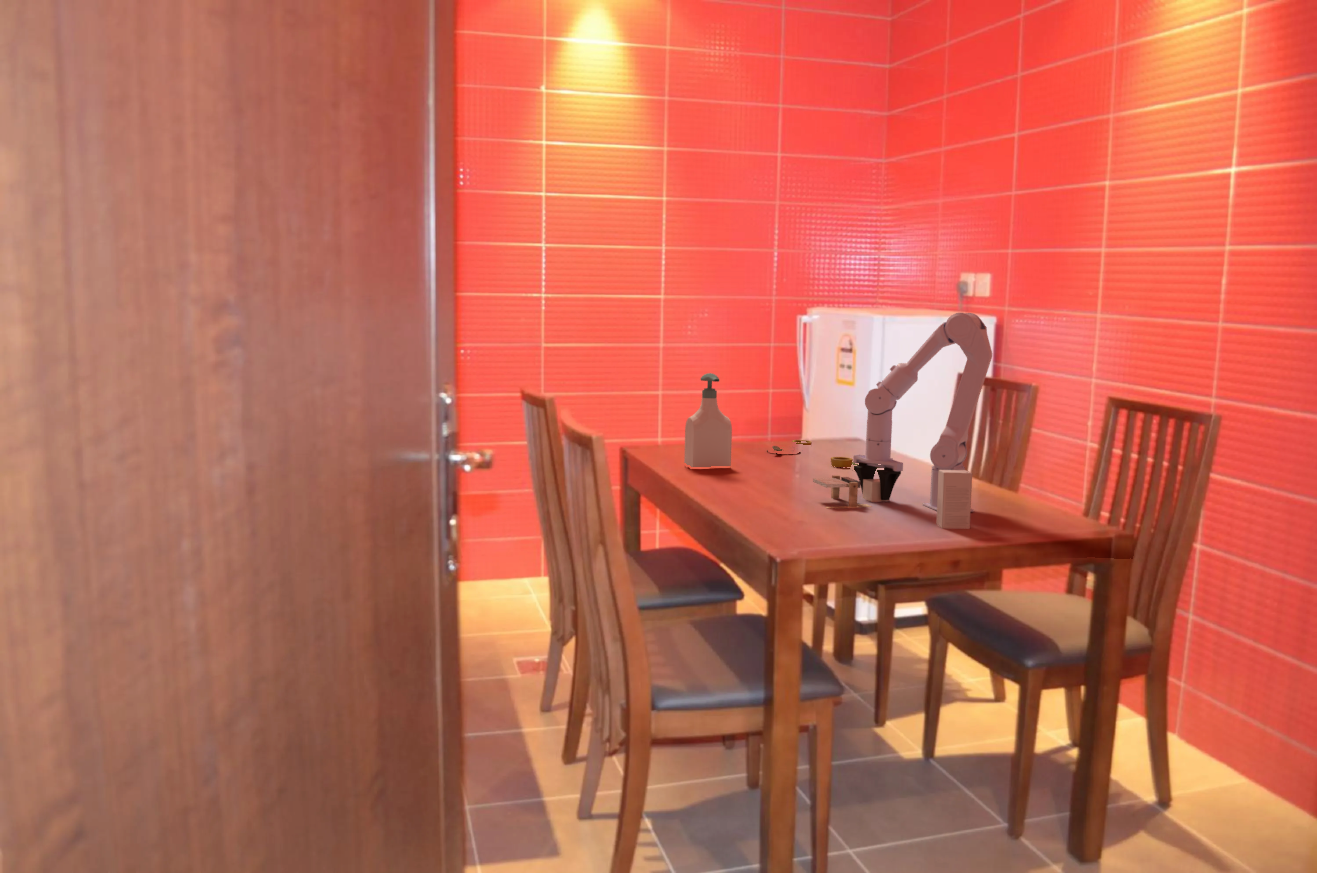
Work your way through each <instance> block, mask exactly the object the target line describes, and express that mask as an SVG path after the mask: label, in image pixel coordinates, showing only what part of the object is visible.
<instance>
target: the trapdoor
mask: <svg viewBox="0 0 1317 873" xmlns="http://www.w3.org/2000/svg"><path fill="white" fill-rule="evenodd" d="M841 480H842V481H841ZM844 481H845V482H844ZM846 482H847V483H846ZM850 482H857V483H858V489H860V488H861V485H860V481H859V480H857V479H854V478H852V477H849V476H840V480H839V479H836V478H832V477H830V478H829V477H827V478H826V477H825V478H824V477H823V478H812V483H813V484H816V485H820V486H822V487H824V488H827V489H828V488H830V489H832V488H836V487H840V488H849V483H850Z"/></svg>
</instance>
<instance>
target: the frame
mask: <svg viewBox="0 0 1317 873" xmlns="http://www.w3.org/2000/svg"><path fill="white" fill-rule="evenodd" d="M831 478H836V479H839V480H841V475H838V474H837V475H836V474H834V475H831ZM841 481H842V480H841ZM844 482H845V481H844ZM846 483H847V482H846ZM830 489H831V490H830V492H831V494H830V498H831V499H832V498H833V500H837V498H839V499H840V489H841V487H836V488H830ZM858 491H859V488H858V483H857V482H850V483H849V487H848V505H847V506H844V505H843V506H825V507H824V508H825V509H826V510H830V509H833V508H835V509H856V508H857V509H858V508H872V507H873V506H871V505H870V504H867V503H865V504H864V503H858Z"/></svg>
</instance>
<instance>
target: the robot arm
mask: <svg viewBox="0 0 1317 873" xmlns="http://www.w3.org/2000/svg"><path fill="white" fill-rule="evenodd" d="M955 344H957V346H959V348H960V349H961V351H962V352H963V354H964V355H965V357H966V362H965V365H964V367H963V368H964V369H963V372H962V375H961V378H960V381H959V384H958V387H957V390H956V393H955V396H954V399H953V401H952V402H953V403H952V406H951V409H950V412H949V414H948V418H947V421H946V425H945V427H944V428H943V430H942V432H941V433H940V436H939V439H938V441H937V442H936V443H935V444H934V445H933V446H932V448H931V449H930V454H929V457H930V461H931V463H932V464H933V465H932V466H931V472H930V473H931V476H930V495H929V496H930V497H929V502H923V503H922V504H921V505H922V506H923V507H926V508H929V509H932V510H934V511H937V496H938V471H939V470H966V468H965V465H964V464H963V463H964V461H965V460H966V458H967V456H968V447H967V443H968V440H969V429H970V426H971V423H972V420H973V416H974V413H975V410H976V408H977V405H978V401H979V398H980V395H981V392H982V389H983V385H984V384H985V380H986V377H987V373H988V371H989V368H990V365H991V362H992V357H993V351H992V347H991V343H990V340H989V336H988V329H987V326H986V324H985V323H984V322H983V320H982V319H981V318H980V316H978V315H977V314H975V313H972V312H956V313H953V314H951V315H950V316H949V317H948V319H947V320H946V321H945V322H943V323H942V324H940V325H939V326H938V327H937V328H936V329H934V331H933V333H931V335H930V336H929V337H928V338H927V340H926V341H925V342H924V343H923V344H922V345H921V346H920V347H919V348H918V350H917V351H916V352H915V353H914V354H913V356H911V358H910V359H909V360H908V361H907V362H900V363H898V364H897V365H892V366H891V367H890V368H889V371H890V372H889V373H888V375H887V376H885V378H883V380H881V381H878V382H877V383H876V386H877V387H876V388H872V389H870V390H869V391H868V393H867V394H866V396H865V398H864V406H865V408H866V409H867V419H866V436H865V439H866V440H865V455H863V454H853V458H852V459H853V460H852V461H853V463H859V465H858V466H854V470H855V471H854V472H855V473H856V475H857V478H858V481H860V488H861V493H862V495H863V479H875V478H874V477H875V475H874V474H875V471H876V469H877V467H880V468H884V470H877V472H878V475H877V476H878V479H880V487H881V492H880V493H881V500H889V499H891V496H892V492H893V489H894V487H895V484H896V483H897V481H898V479H899V477H900V476H901V474H902V472H904V462H901V461H898V460H895V459H893V457H891V454H892V453H891V451H892V432H893V430H892V429H893V410H894V409H895V408H896V406H897V403H898V401H900V399H902V397H903V396H904V395H905V394H906V393H907V392H908V391H909V390H910V389H911V388H912V387H913V386H914V384H916V383H917V381H918V380H919V379H918V374H919V372H920V370H921V369H922V368H924V366H925V365H927V363H929V362H930V361H931V360H932V359H933V357H935V356H936V355H937V354H938V353H939V352H940V351H941V350H942V349H943V348H946V347H948V346H951V345H955ZM878 464H881V465H878ZM889 501H890V500H889ZM973 512H975V510H974V509H973V508H971V511H970V513H973Z"/></svg>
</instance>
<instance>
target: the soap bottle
mask: <svg viewBox="0 0 1317 873" xmlns="http://www.w3.org/2000/svg"><path fill="white" fill-rule="evenodd" d="M700 381H702V382H703V381H704V382H707V387H705V388H703V389H702V393H701V402H700V406H699V408H698V409H697V411H696V412H695V413H693V414H692V415H691V416H689V417H687V419H686V422H685V426H684V457H683V458H684V462H683V463H686V464H687V465H690V466H691V467H711V466H731V467H732V443H733V442H732V440H733V439H732V438H733V427H732V421H731V419H730V418H729V416H726V415H725V414H724V413H723V412H722V411H721V410H720V408H719V406H718V399H717V393H718V392H717V390H716V388H713V382H714V383H715V382H717V383H718V382H720V378H719V376H718V375H716V374H714V373H711V372H708V373H705V374H703V375H702V376H701V377H700Z"/></svg>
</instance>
